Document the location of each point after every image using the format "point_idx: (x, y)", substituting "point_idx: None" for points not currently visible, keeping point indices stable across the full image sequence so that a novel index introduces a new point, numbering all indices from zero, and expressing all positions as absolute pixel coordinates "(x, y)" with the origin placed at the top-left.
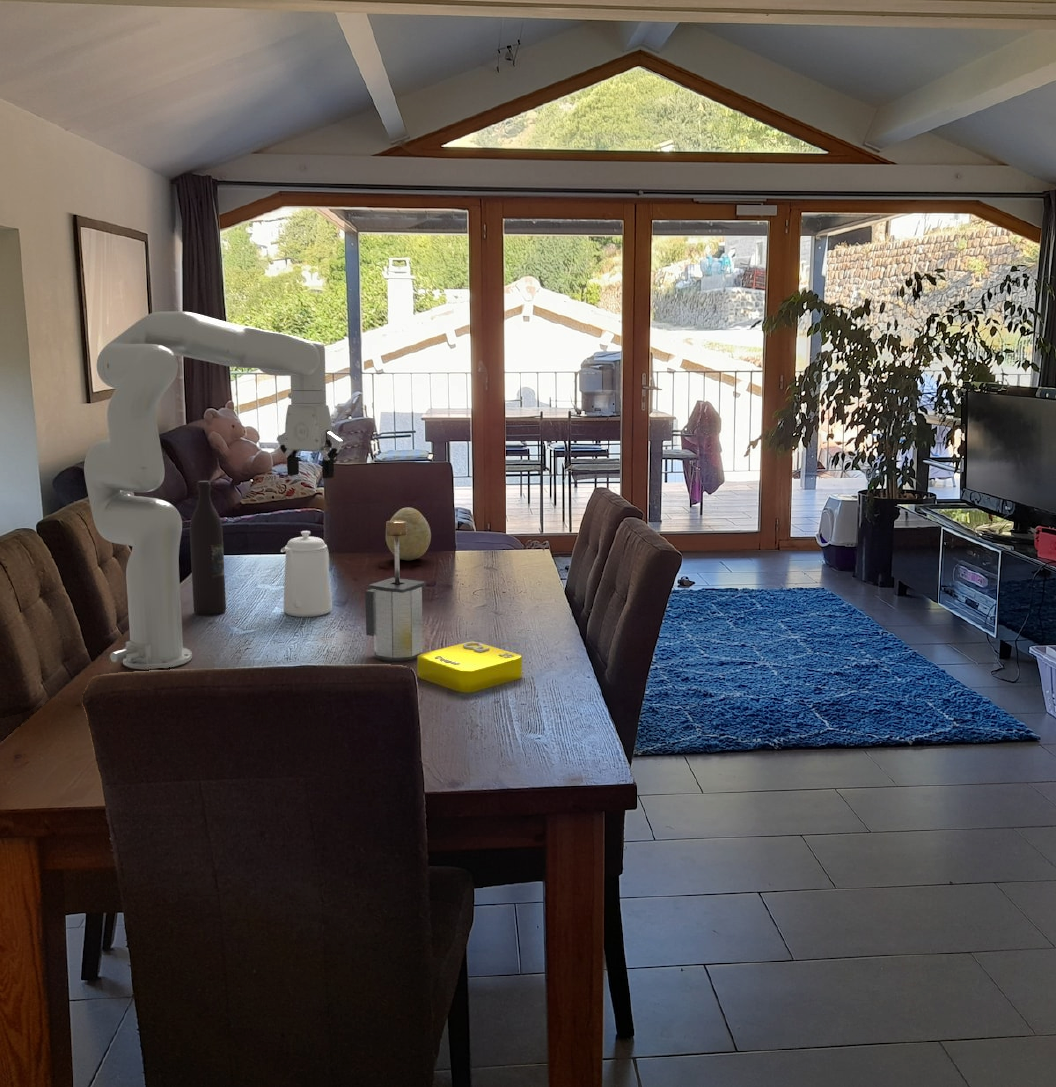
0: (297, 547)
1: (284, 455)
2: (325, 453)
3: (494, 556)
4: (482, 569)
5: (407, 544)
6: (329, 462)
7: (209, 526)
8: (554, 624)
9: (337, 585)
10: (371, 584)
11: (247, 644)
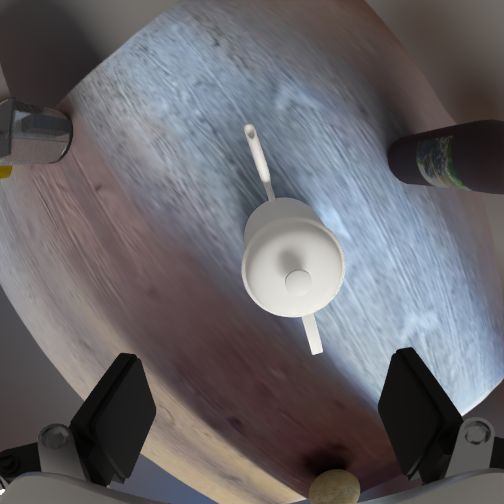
0: (283, 224)
1: (487, 422)
2: (45, 461)
3: (260, 499)
4: (235, 474)
5: (324, 481)
6: (72, 426)
7: (481, 130)
8: (32, 325)
9: (344, 375)
10: (11, 102)
11: (231, 54)
